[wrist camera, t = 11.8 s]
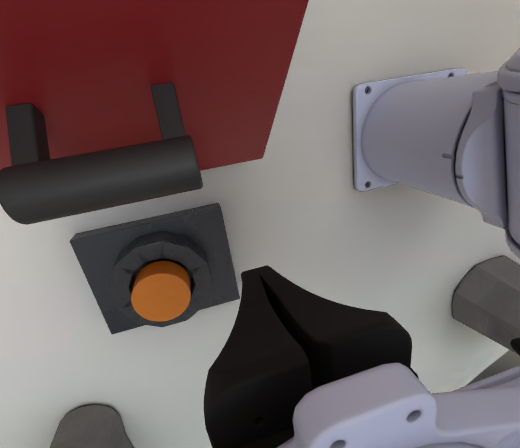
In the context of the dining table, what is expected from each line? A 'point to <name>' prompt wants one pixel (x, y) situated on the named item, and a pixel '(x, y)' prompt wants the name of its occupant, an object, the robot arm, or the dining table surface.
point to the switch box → (152, 250)
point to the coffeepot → (491, 301)
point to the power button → (161, 291)
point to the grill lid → (133, 96)
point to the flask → (91, 429)
